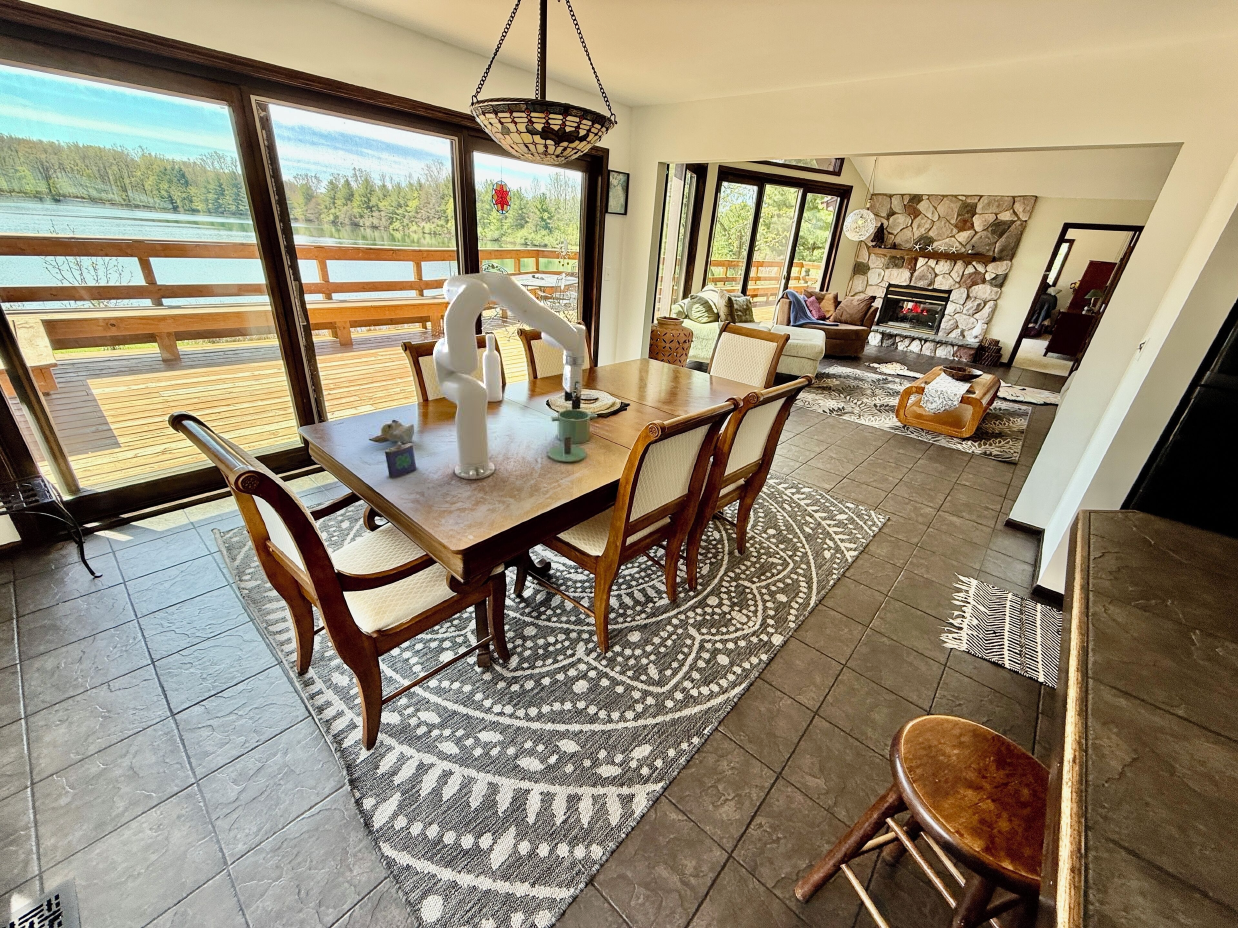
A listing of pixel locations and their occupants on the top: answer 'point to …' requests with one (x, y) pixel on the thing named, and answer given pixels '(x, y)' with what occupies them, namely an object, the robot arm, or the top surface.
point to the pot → (574, 425)
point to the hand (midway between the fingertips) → (572, 405)
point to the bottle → (492, 370)
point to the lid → (567, 452)
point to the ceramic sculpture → (395, 433)
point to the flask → (400, 460)
